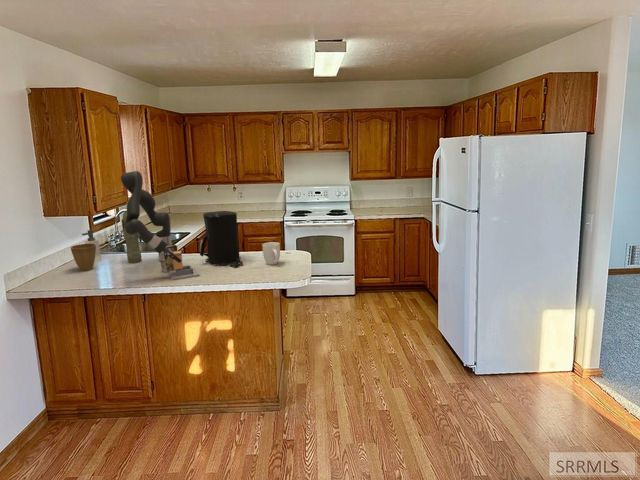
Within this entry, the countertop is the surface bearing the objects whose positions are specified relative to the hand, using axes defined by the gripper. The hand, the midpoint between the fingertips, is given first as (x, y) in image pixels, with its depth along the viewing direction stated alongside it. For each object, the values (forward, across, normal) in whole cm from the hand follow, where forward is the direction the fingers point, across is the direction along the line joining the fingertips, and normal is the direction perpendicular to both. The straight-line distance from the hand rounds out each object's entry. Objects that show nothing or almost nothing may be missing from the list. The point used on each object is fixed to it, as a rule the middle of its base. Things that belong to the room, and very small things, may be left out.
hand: (179, 260), depth 285 cm
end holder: (+7, 0, +5) cm, 9 cm away
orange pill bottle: (+2, 0, +4) cm, 5 cm away
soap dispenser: (-30, +70, +43) cm, 87 cm away
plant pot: (-32, +48, +45) cm, 73 cm away
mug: (+46, -7, -33) cm, 58 cm away
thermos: (-11, +51, +24) cm, 57 cm away
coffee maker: (+26, +14, -13) cm, 32 cm away
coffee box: (+3, +14, +10) cm, 17 cm away
